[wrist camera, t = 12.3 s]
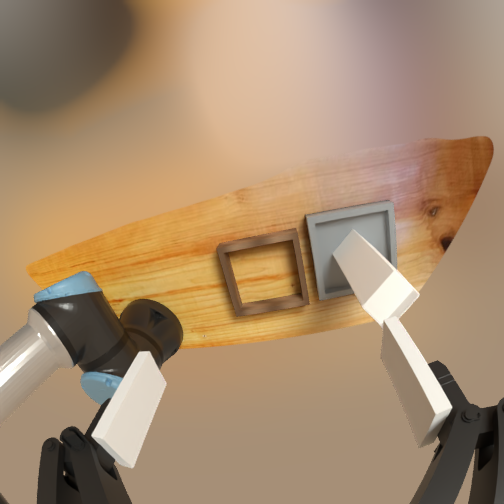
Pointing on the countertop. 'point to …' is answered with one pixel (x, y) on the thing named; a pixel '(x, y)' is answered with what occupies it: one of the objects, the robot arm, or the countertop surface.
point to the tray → (336, 230)
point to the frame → (269, 303)
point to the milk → (374, 279)
